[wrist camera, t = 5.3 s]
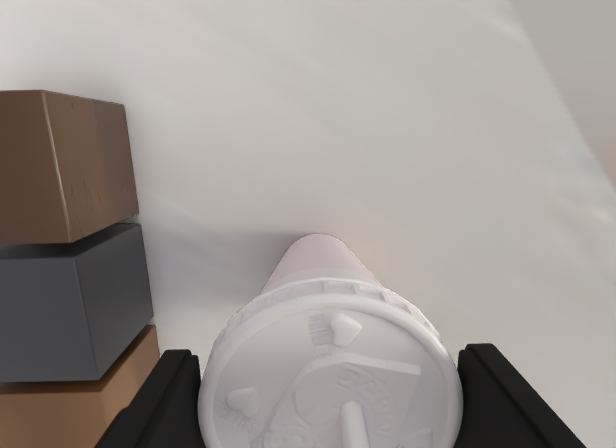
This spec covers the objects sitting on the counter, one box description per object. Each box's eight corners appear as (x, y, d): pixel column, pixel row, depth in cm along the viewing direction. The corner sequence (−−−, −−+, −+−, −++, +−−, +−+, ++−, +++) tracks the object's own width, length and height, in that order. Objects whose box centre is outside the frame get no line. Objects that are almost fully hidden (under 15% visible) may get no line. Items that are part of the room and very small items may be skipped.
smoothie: (404, 286, 18) (721, 767, 4) (299, 347, 19) (278, 913, 5) (338, 180, 16) (484, 378, 3) (228, 251, 17) (-58, 662, 4)
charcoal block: (141, 223, 17) (74, 257, 12) (154, 316, 18) (98, 381, 13) (38, 225, 17) (-69, 260, 12) (58, 318, 18) (-32, 384, 13)
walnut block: (124, 104, 16) (42, 89, 11) (139, 213, 17) (72, 243, 12) (13, 106, 16) (-119, 92, 11) (36, 215, 17) (-73, 246, 12)
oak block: (155, 325, 18) (100, 392, 13) (166, 405, 19) (120, 494, 15) (60, 326, 18) (-29, 395, 13) (77, 407, 19) (1, 496, 15)
